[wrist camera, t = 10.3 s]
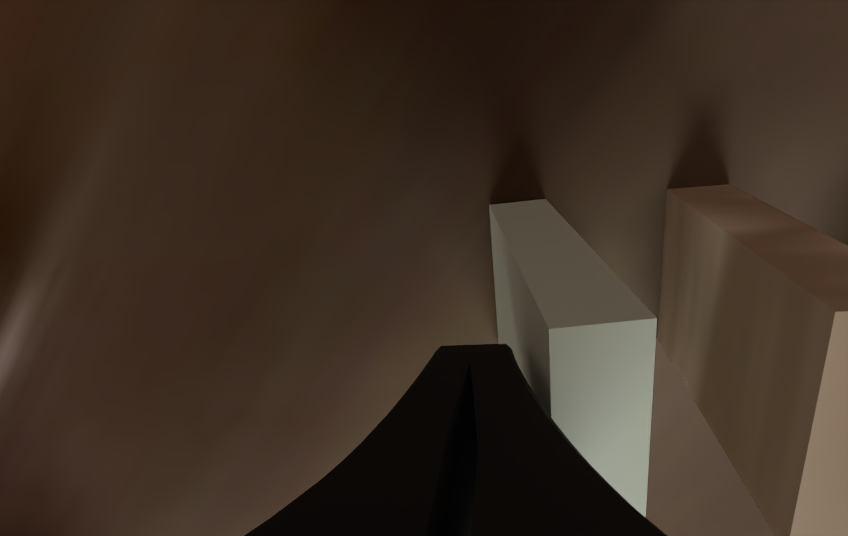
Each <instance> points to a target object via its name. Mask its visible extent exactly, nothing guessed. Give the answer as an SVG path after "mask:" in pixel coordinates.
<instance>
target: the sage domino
mask: <svg viewBox="0 0 848 536" xmlns="http://www.w3.org/2000/svg"><path fill="white" fill-rule="evenodd" d="M489 211H490V226H491V241H492V256H493V270H494V285H495V300H496V315H497V330H498V344H507V345H508V346H509V347H510V348H511V349H512V351H513V354H514V357H515V359H516V362H517V364H518V366H519V368H520V370H521V372H522V373H523V375H524V377H525V379H526V381H527V382H528V384H529V386H530V387H531V389H532V390H533V392H534V393H535V395H536V396H537V398H538V399H539V401H540V402H541V404H542V405H543V407H544V408H545V410H546V411H547V412H548V414H549V415H550V417H551V418H552V419H553V421H554V422H555V423H556V425H557V426H558V427H559V428H560V430H561V431H562V432H563V433H564V435H565V436H566V437H567V438H568V440H569V441H570V442H571V443H572V444H573V446H574V447H575V448H576V449H577V450H578V451H579V453H580V454H581V455H582V456H583V457H584V458H585V459H586V460H587V461H588V463H589V464H590V465H591V466H592V467H593V468H594V469H595V470H596V471H597V472H598V473H599V474H600V475H601V476H602V477H603V478H604V479H605V480H606V481H607V482H608V483H609V484H610V485H611V486H612V487H613V488H614V489H615V490H616V491H617V492H618V493H619V494H620V495H621V496H622V497H623V498H624V499H625V500H626V501H627V502H628V503H629V504H631V505H632V506H633V507H634V508H635V509H636V510H637V511H638V512H639V513H641V514H642V515H643V516H644V517H646V499H647V482H648V465H649V448H650V430H651V413H652V396H653V379H654V361H655V344H656V327H657V318H656V317H655V316H654V314H653V313H652V312H651V311H650V310H649V309H648V308H647V307H646V306H645V305H644V304H643V303H642V302H641V301H640V300H639V298H638V297H637V296H636V295H635V294H634V293H633V292H632V291H631V290H630V289H629V288H628V287H627V286H626V285H625V283H624V282H623V281H622V280H621V279H620V278H619V277H618V276H617V275H616V274H615V273H614V272H613V271H612V270H611V268H610V267H609V266H608V265H607V264H606V263H605V262H604V261H603V260H602V259H601V258H600V257H599V256H598V255H597V253H596V252H595V251H594V250H593V249H592V248H591V247H590V246H589V245H588V244H587V243H586V242H585V241H584V240H583V238H582V237H581V236H580V235H579V234H578V233H577V232H576V231H575V230H574V229H573V228H572V227H571V226H570V225H569V223H568V222H567V221H566V220H565V219H564V218H563V217H562V216H561V215H560V214H559V213H558V212H557V211H556V210H555V208H554V207H553V206H552V205H551V204H550V203H549V202H548V201H547V200H546V199H539V200H530V201H521V202H512V203H502V204H493V205H489Z"/></svg>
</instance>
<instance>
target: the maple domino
mask: <svg viewBox="0 0 848 536" xmlns="http://www.w3.org/2000/svg"><path fill="white" fill-rule="evenodd" d="M657 340H658V341H659V343H660V345H661V346H662V348H663V350H664V351H665V353H666V355H667V356H668V358H669V360H670V361H671V363H672V365H673V366H674V368H675V370H676V371H677V373H678V375H679V376H680V378H681V380H682V381H683V383H684V385H685V386H686V388H687V389H688V391H689V393H690V394H691V396H692V398H693V399H694V401H695V403H696V404H697V406H698V408H699V409H700V411H701V413H702V414H703V416H704V418H705V419H706V421H707V423H708V424H709V426H710V428H711V429H712V431H713V433H714V434H715V436H716V438H717V439H718V441H719V443H720V444H721V446H722V448H723V449H724V451H725V453H726V454H727V456H728V458H729V459H730V461H731V463H732V464H733V466H734V468H735V469H736V471H737V473H738V474H739V476H740V477H741V479H742V481H743V482H744V484H745V486H746V487H747V489H748V491H749V492H750V494H751V496H752V497H753V499H754V501H755V502H756V504H757V506H758V507H759V509H760V511H761V512H762V514H763V516H764V517H765V519H766V521H767V522H768V524H769V526H770V527H771V529H772V531H773V532H774V534H775V536H848V246H847V245H845V244H844V243H842V242H840V241H838V240H836V239H834V238H832V237H830V236H828V235H826V234H824V233H822V232H820V231H819V230H817V229H815V228H813V227H811V226H809V225H807V224H805V223H803V222H801V221H799V220H797V219H795V218H794V217H792V216H790V215H788V214H786V213H784V212H782V211H780V210H778V209H776V208H774V207H772V206H770V205H768V204H767V203H765V202H763V201H761V200H759V199H757V198H755V197H753V196H751V195H749V194H747V193H745V192H743V191H742V190H740V189H738V188H736V187H734V186H732V185H730V184H727V185H713V186H700V187H687V188H673V189H667V194H666V209H665V225H664V241H663V256H662V272H661V287H660V303H659V318H658V334H657Z"/></svg>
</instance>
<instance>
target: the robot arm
mask: <svg viewBox="0 0 848 536" xmlns="http://www.w3.org/2000/svg"><path fill="white" fill-rule="evenodd" d="M245 536H667V535H666V534H664V533H663V532H662V531H661V530H660V529H658V528H657V527H656V526H655V525H654V524H652V523H651V522H650V521H649V520H648V519H647V518H645V517H644V516H643V515H642V514H641V513H639V512H638V511H637V510H636V509H635V508H634V507H633V506H632V505H631V504H629V503H628V502H627V501H626V500H625V499H624V498H623V497H622V496H621V495H620V494H619V493H618V492H617V491H616V490H615V489H614V488H613V487H612V486H611V485H610V484H609V483H608V482H607V481H606V480H605V479H604V478H603V477H602V476H601V475H600V474H599V473H598V472H597V471H596V470H595V469H594V468H593V467H592V466H591V465H590V464H589V463H588V461H587V460H586V459H585V458H584V457H583V456H582V455H581V454H580V453H579V451H578V450H577V449H576V448H575V447H574V446H573V444H572V443H571V442H570V441H569V440H568V438H567V437H566V436H565V435H564V433H563V432H562V431H561V430H560V428H559V427H558V426H557V425H556V423H555V422H554V421H553V419H552V418H551V417H550V415H549V414H548V412H547V411H546V410H545V408H544V407H543V405H542V404H541V402H540V401H539V399H538V398H537V396H536V395H535V393H534V392H533V390H532V389H531V387H530V386H529V384H528V382H527V381H526V379H525V377H524V375H523V373H522V372H521V370H520V368H519V366H518V364H517V362H516V359H515V357H514V354H513V351H512V349H511V348H510V347H509V346H508V345H507V344H484V345H456V346H441V347H440V348H439V349H438V350H437V351H436V352H435V353H434V355H433V356H432V358H431V359H430V361H429V362H428V364H427V365H426V366H425V368H424V369H423V371H422V372H421V373H420V375H419V376H418V377H417V379H416V380H415V381H414V383H413V384H412V385H411V387H410V388H409V389H408V390H407V391H406V393H405V394H404V395H403V396H402V398H401V399H400V400H399V401H398V403H397V404H396V405H395V406H394V408H393V409H392V410H391V411H390V412H389V413H388V414H387V416H386V417H385V418H384V419H383V420H382V421H381V422H380V423H379V424H378V425H377V426H376V428H375V429H374V430H373V431H372V432H371V433H370V434H369V435H368V436H367V437H366V438H365V439H364V441H363V442H362V443H361V444H360V445H359V446H358V447H357V448H355V449H354V450H353V451H352V452H351V453H350V454H349V455H348V456H347V457H346V458H345V459H344V460H343V461H342V462H341V463H340V464H338V465H337V466H336V467H335V468H334V469H333V470H332V471H331V472H329V473H328V474H327V475H326V476H325V477H324V478H322V479H321V480H320V481H319V482H318V483H316V484H315V485H314V486H312V487H311V488H310V489H308V490H307V491H306V492H304V493H303V494H302V495H300V496H299V497H298V498H296V499H295V500H294V501H292V502H291V503H290V504H288V505H287V506H286V507H284V508H283V509H282V510H281V511H279V512H278V513H277V514H275V515H274V516H273V517H271V518H270V519H268V520H267V521H266V522H264V523H263V524H261V525H260V526H258V527H257V528H255V529H254V530H252V531H251V532H249V533H248V534H246V535H245Z"/></svg>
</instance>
